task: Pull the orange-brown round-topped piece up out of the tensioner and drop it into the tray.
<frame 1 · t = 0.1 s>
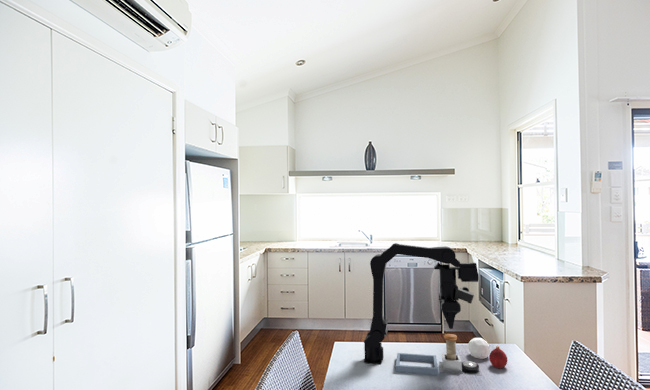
hand: (449, 324, 133), 15 cm above the table, tool pointing down, fingers open, 9 cm apart
onion: (498, 370, 128), on the table
tensioner: (451, 370, 128), on the table
ball: (479, 359, 138), on the table
tray: (416, 369, 130), on the table
orange-brown round-topped piece: (451, 367, 128), point 1 cm above the table, touching tensioner
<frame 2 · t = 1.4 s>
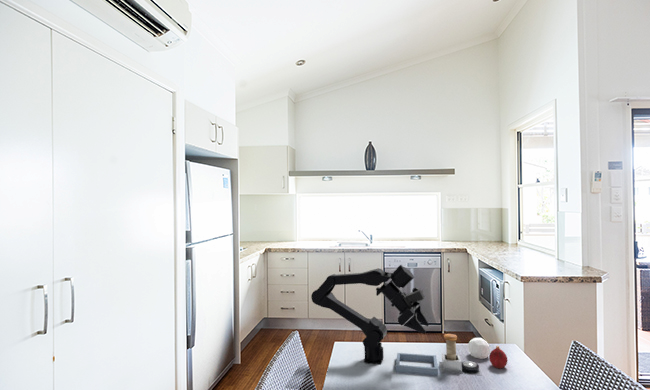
hand: (426, 329, 132), 14 cm above the table, tool tilted 45°, fingers open, 9 cm apart
nothing on the table moved.
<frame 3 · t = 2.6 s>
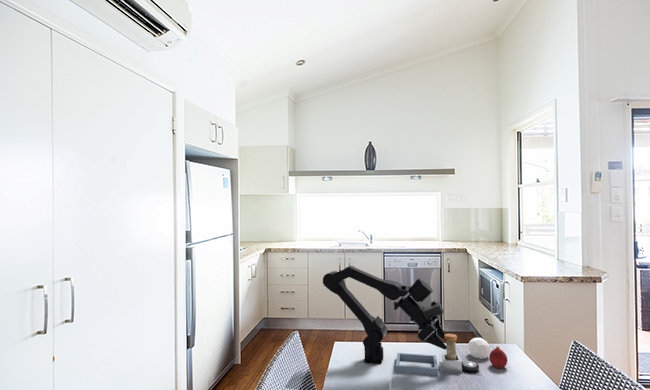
hand: (447, 344, 129), 9 cm above the table, tool tilted 45°, fingers open, 9 cm apart
nothing on the table moved.
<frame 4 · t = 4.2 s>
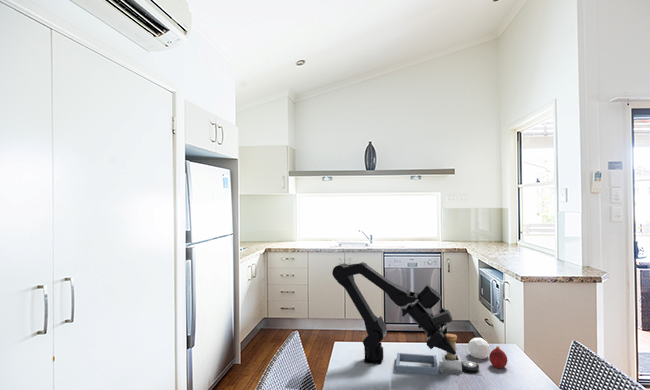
hand: (455, 351, 128), 7 cm above the table, tool tilted 45°, fingers closed on orange-brown round-topped piece, 3 cm apart
orange-brown round-topped piece: (451, 367, 128), point 1 cm above the table, touching gripper, tensioner
everything else where it was.
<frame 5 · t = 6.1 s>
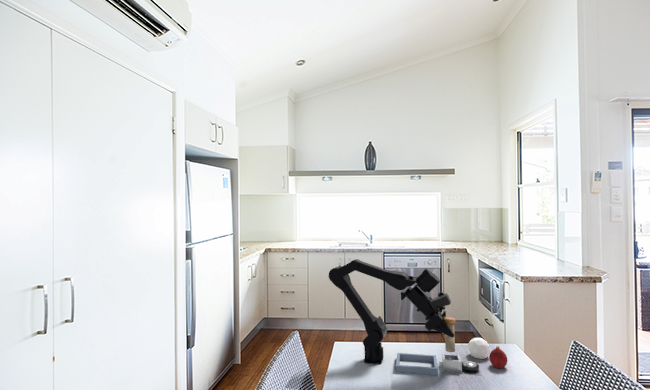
hand: (453, 334, 129), 12 cm above the table, tool tilted 45°, fingers closed on orange-brown round-topped piece, 3 cm apart
orange-brown round-topped piece: (450, 350, 129), point 7 cm above the table, touching gripper
everything else where it was.
when the fingers open (9 cm above the table, at t = 8.4 s): orange-brown round-topped piece drops 2 cm, resting on tray.
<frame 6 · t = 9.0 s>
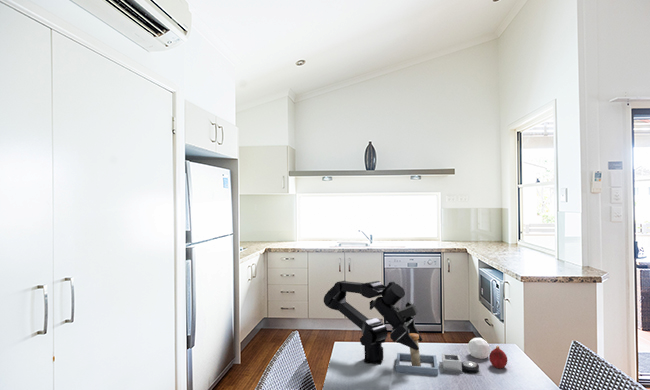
hand: (419, 345, 130), 9 cm above the table, tool tilted 45°, fingers open, 9 cm apart
orange-brown round-topped piece: (416, 366, 130), point 1 cm above the table, touching tray
everything else where it was.
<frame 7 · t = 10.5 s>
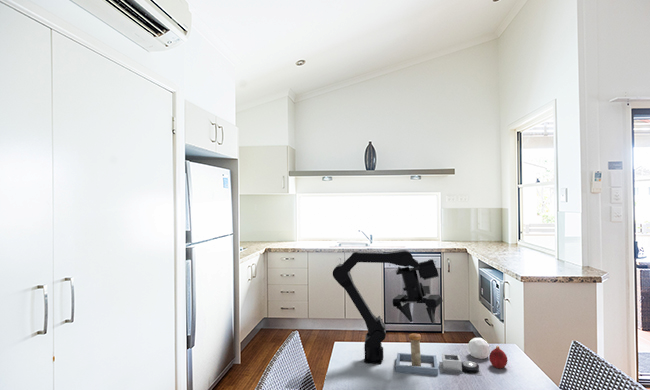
hand: (422, 322, 139), 14 cm above the table, tool pointing down, fingers open, 9 cm apart
nothing on the table moved.
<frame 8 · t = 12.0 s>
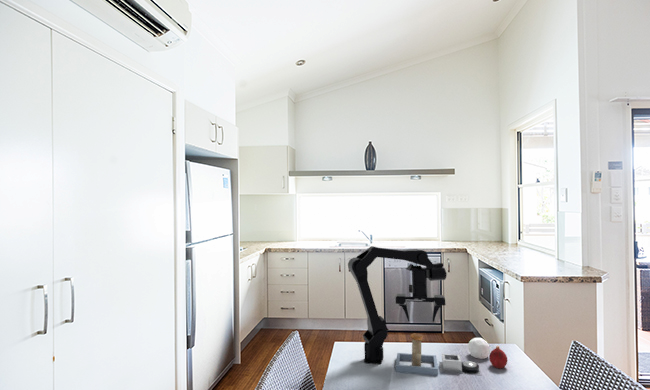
hand: (420, 321, 143), 13 cm above the table, tool pointing down, fingers open, 9 cm apart
nothing on the table moved.
at the end: orange-brown round-topped piece inside the target area on the tray (0.1 cm from its centre), point 0.8 cm above the tray's base; orange-brown round-topped piece touching tray; the gripper is holding nothing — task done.
